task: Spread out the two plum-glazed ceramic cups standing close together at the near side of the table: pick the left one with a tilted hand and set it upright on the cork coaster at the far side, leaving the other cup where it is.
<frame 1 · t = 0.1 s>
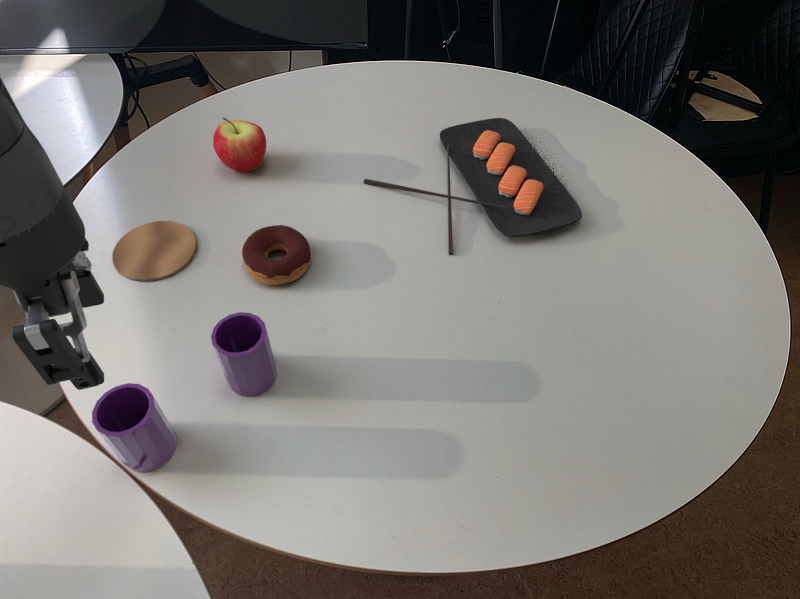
hand: (92, 341, 51), 23 cm above the table, tool pointing down, fingers open, 8 cm apart
apple: (245, 166, 102), on the table
cup b: (252, 375, 76), on the table
cup a: (149, 446, 70), on the table
donut: (279, 263, 88), on the table
coaster: (155, 251, 89), on the table
sushi plate: (462, 190, 99), on the table
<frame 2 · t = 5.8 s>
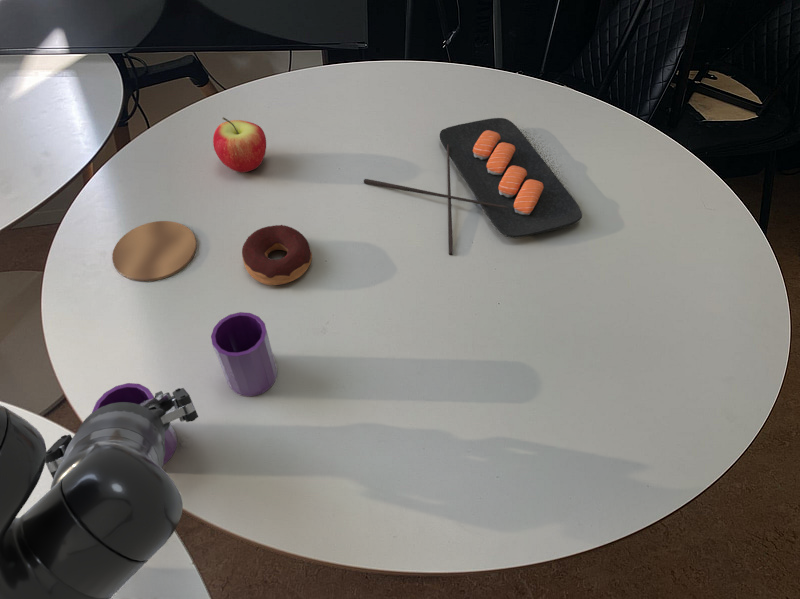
hand: (130, 413, 66), 5 cm above the table, tool tilted 45°, fingers closed on cup a, 6 cm apart
cup a: (149, 446, 70), on the table, touching gripper
everything else where it was.
when the fingers open (6 cm above the table, at t = 15.7 s): cup a stays where it is, resting on coaster.
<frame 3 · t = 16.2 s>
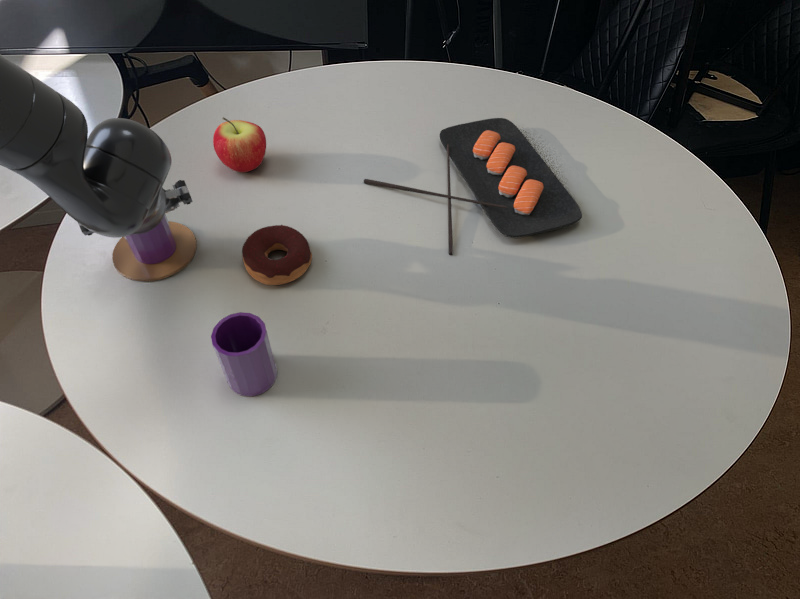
hand: (139, 213, 85), 7 cm above the table, tool tilted 45°, fingers open, 8 cm apart
cup a: (155, 248, 89), resting on coaster
everything else where it was.
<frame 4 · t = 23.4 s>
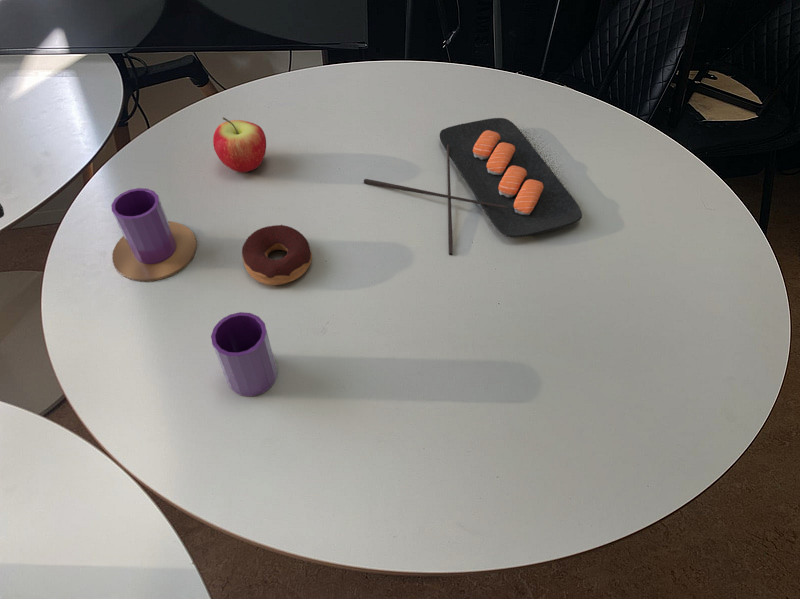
nothing on the table moved.
at the end: cup a 0.1 cm off-centre on the coaster, point 0.5 cm above the coaster's base; cup a tilted 0°; cup b moved 0.0 cm from its start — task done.
